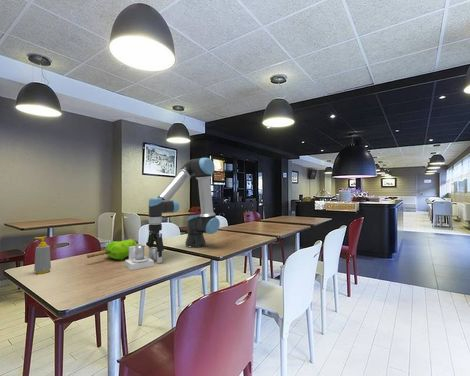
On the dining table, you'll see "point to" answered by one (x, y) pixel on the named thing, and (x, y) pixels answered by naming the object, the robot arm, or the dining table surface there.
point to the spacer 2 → (154, 254)
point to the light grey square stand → (137, 261)
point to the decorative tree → (116, 249)
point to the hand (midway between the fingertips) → (155, 260)
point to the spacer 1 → (139, 252)
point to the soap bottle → (42, 257)
